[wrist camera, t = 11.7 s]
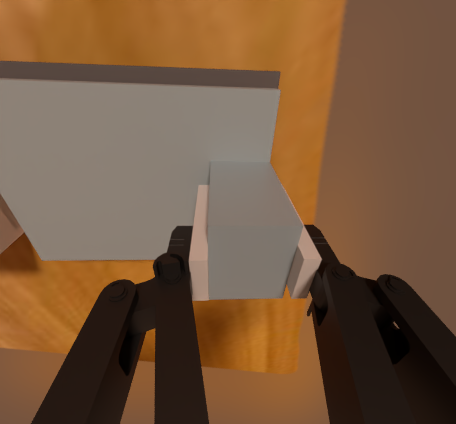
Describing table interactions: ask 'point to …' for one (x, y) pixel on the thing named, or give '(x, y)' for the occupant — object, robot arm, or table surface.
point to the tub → (8, 226)
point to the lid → (149, 175)
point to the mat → (139, 74)
